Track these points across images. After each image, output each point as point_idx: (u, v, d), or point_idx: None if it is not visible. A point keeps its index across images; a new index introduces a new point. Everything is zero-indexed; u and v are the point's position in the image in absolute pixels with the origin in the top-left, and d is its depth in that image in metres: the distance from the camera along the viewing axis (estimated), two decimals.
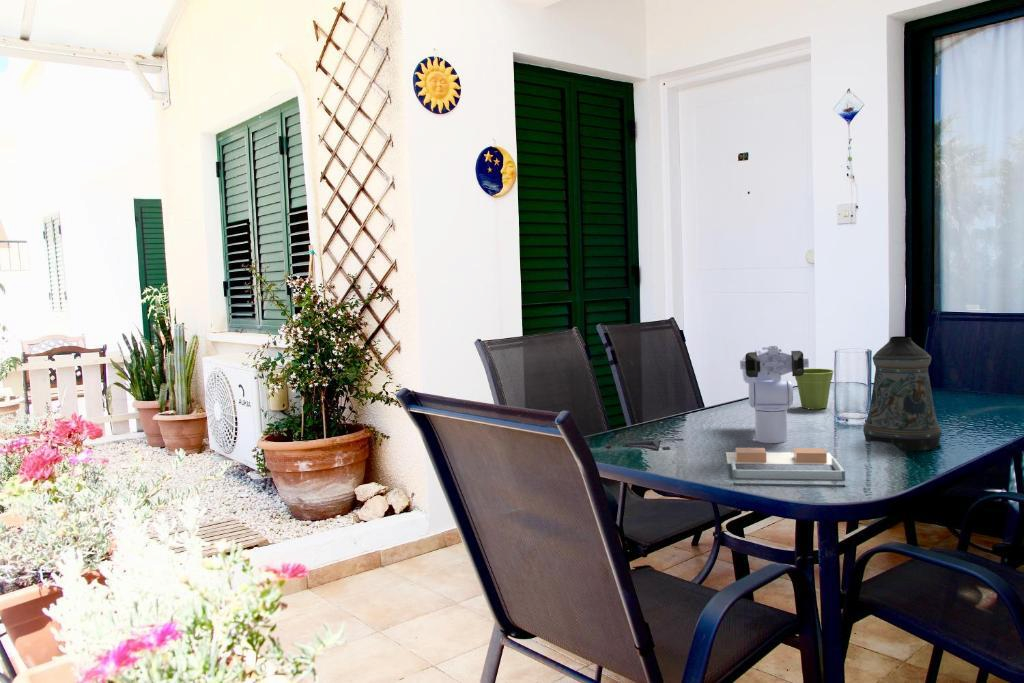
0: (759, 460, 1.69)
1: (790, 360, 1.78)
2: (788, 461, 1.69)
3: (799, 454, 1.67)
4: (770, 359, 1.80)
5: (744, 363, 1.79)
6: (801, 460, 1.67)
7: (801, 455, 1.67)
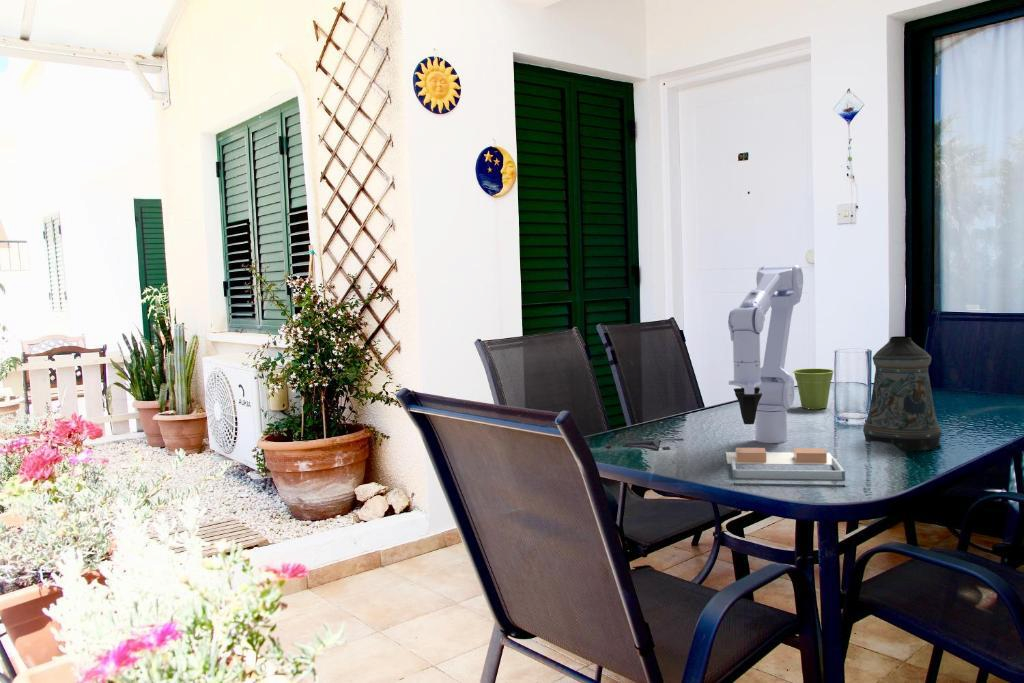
0: (759, 460, 1.69)
1: None
2: (788, 461, 1.69)
3: (799, 454, 1.67)
4: None
5: None
6: (801, 460, 1.67)
7: (801, 455, 1.67)
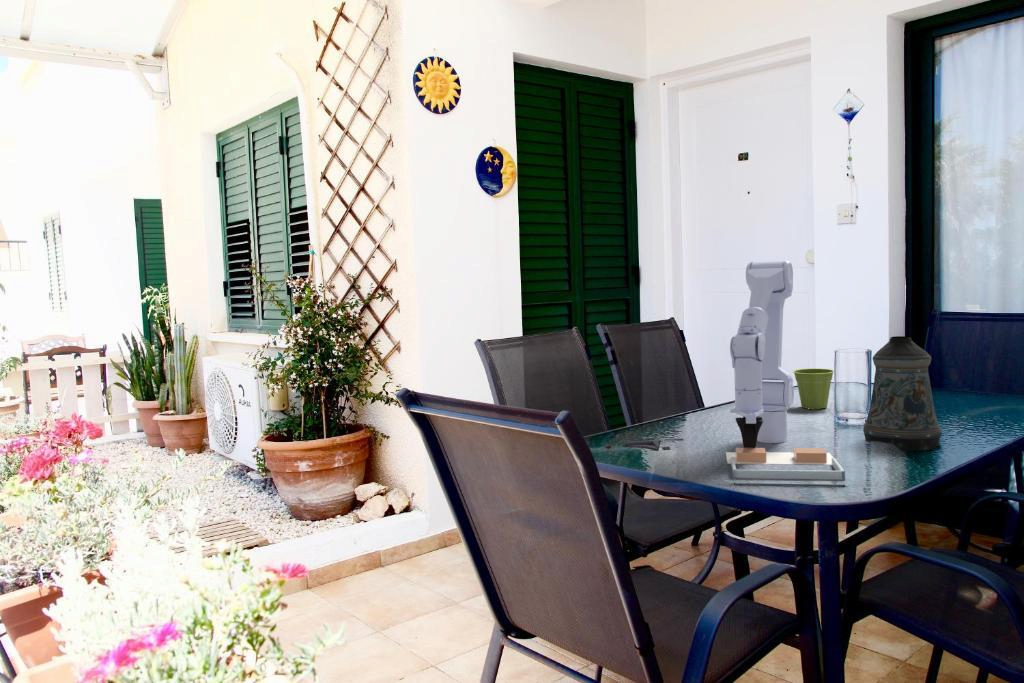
0: (759, 460, 1.69)
1: None
2: (788, 461, 1.69)
3: (799, 454, 1.67)
4: None
5: None
6: (801, 460, 1.67)
7: (801, 455, 1.67)
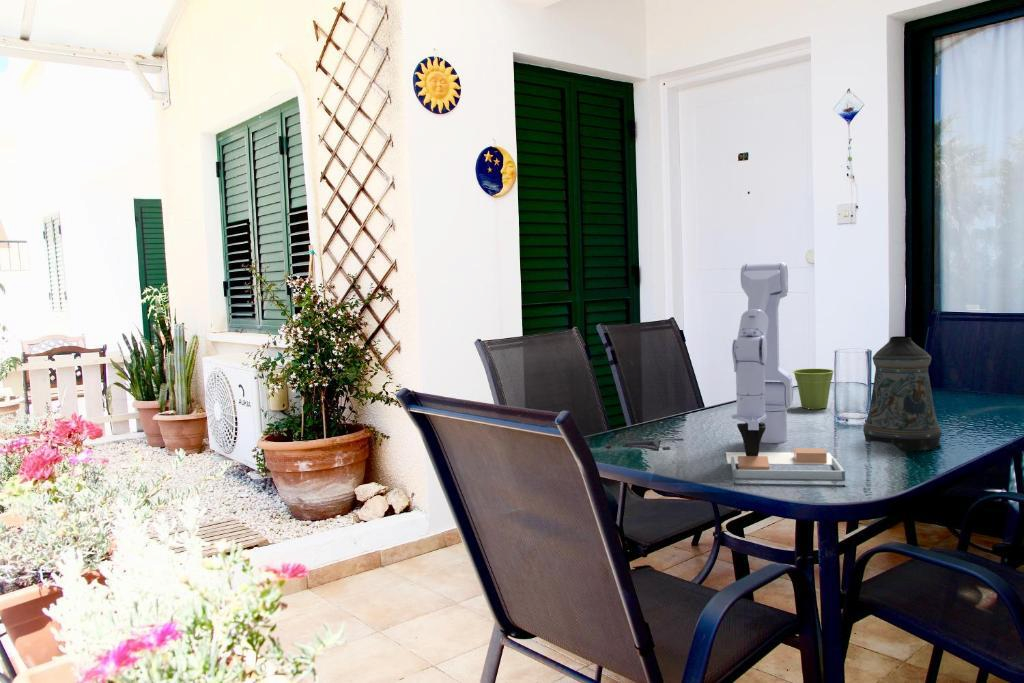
0: None
1: None
2: (788, 461, 1.69)
3: (799, 454, 1.67)
4: None
5: None
6: (801, 460, 1.67)
7: (801, 455, 1.67)
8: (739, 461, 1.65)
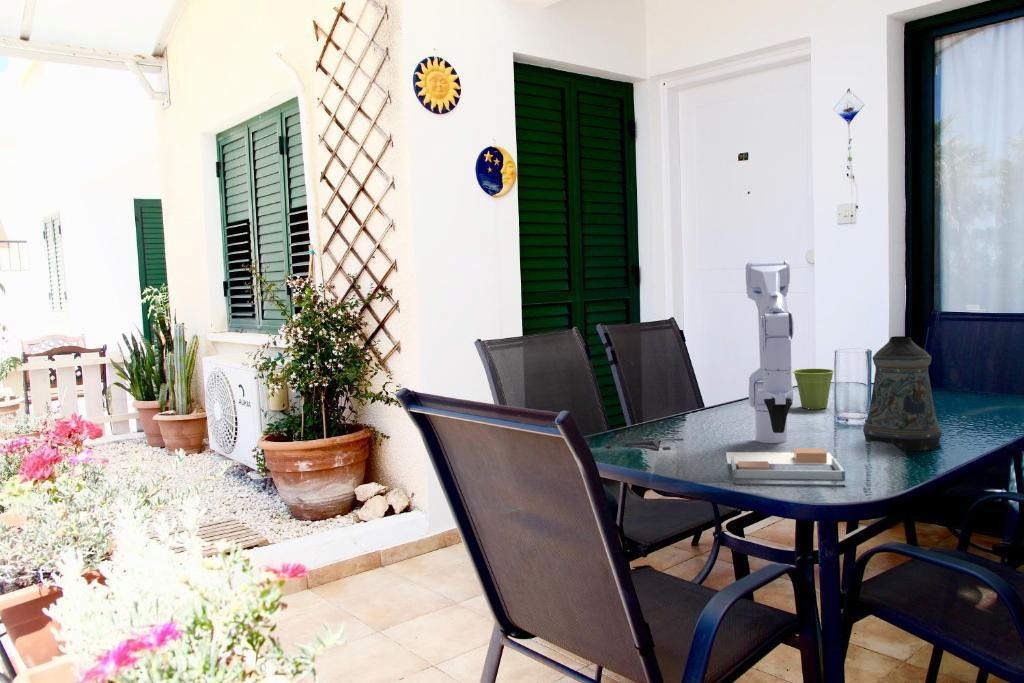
0: None
1: None
2: (788, 461, 1.69)
3: (799, 454, 1.67)
4: None
5: None
6: (801, 460, 1.67)
7: (801, 455, 1.67)
8: (739, 464, 1.65)
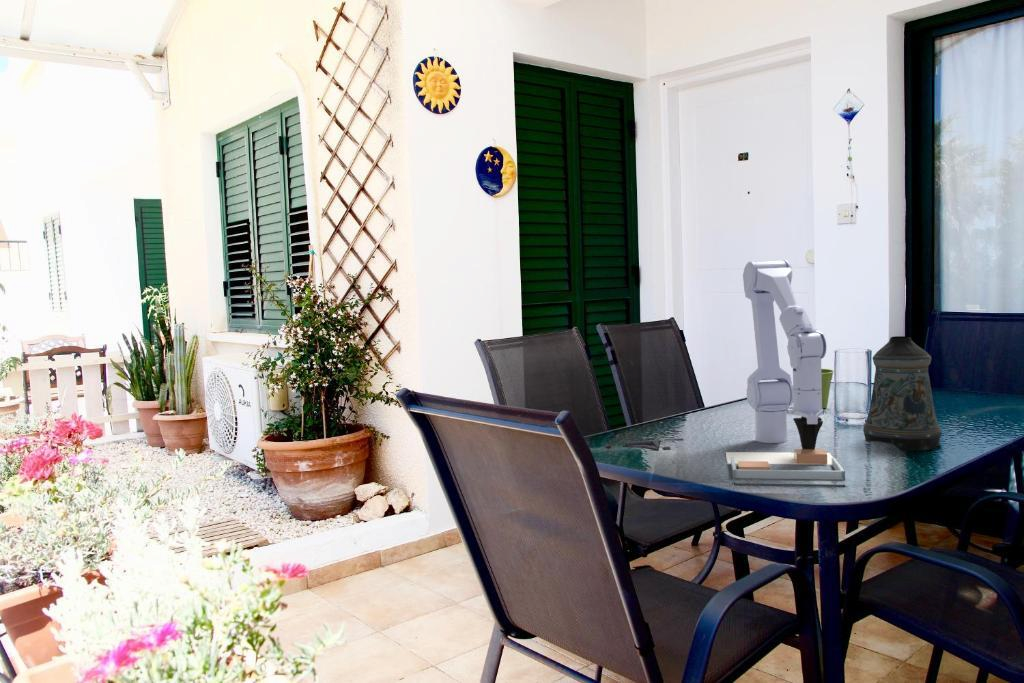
0: None
1: None
2: (788, 461, 1.69)
3: (799, 455, 1.66)
4: None
5: None
6: (801, 461, 1.66)
7: (801, 456, 1.66)
8: (739, 464, 1.65)
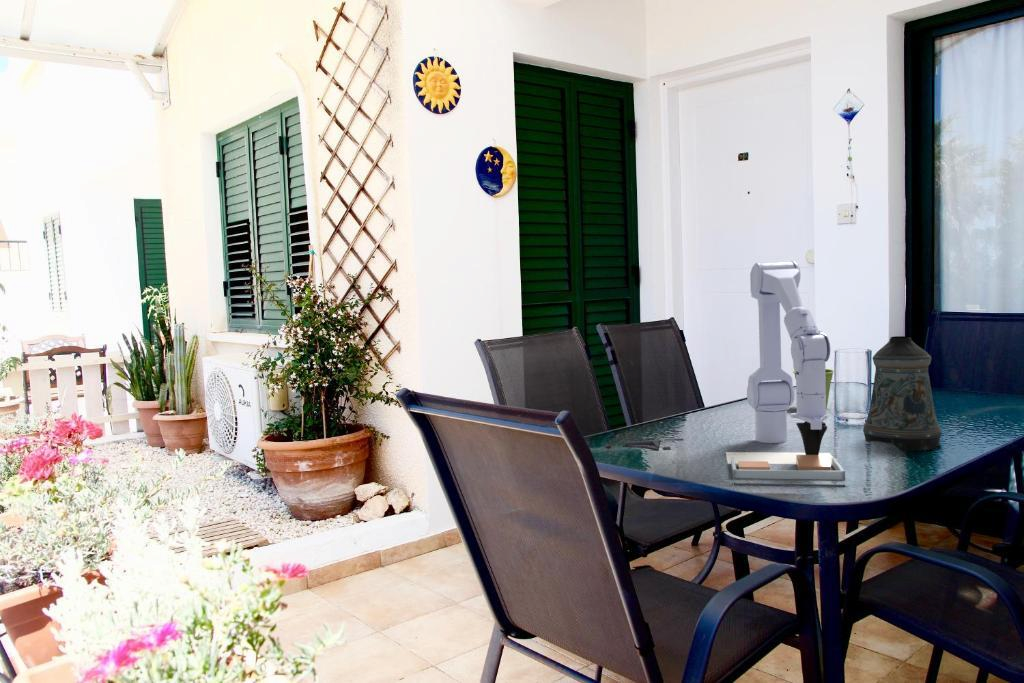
0: None
1: None
2: (788, 461, 1.69)
3: (802, 467, 1.61)
4: None
5: None
6: None
7: (804, 468, 1.61)
8: (739, 464, 1.65)
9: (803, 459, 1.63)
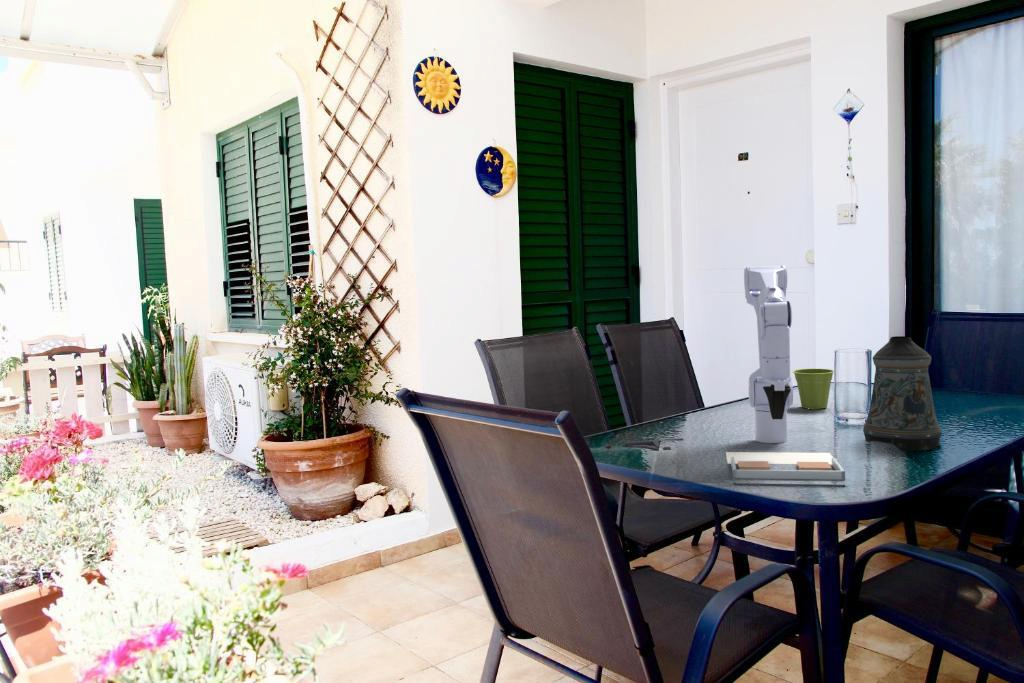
0: None
1: None
2: (788, 461, 1.69)
3: (803, 469, 1.60)
4: None
5: None
6: None
7: (805, 469, 1.60)
8: (739, 464, 1.65)
9: (804, 464, 1.62)
